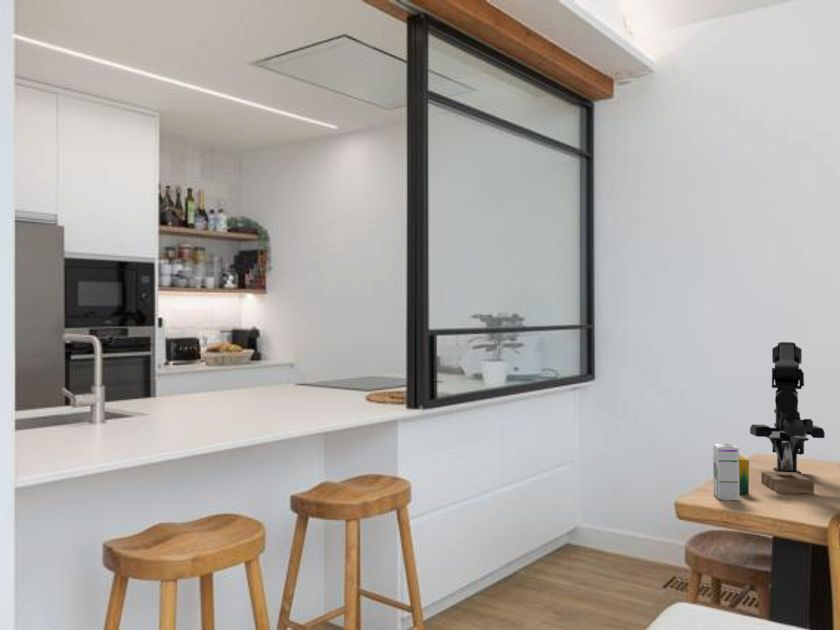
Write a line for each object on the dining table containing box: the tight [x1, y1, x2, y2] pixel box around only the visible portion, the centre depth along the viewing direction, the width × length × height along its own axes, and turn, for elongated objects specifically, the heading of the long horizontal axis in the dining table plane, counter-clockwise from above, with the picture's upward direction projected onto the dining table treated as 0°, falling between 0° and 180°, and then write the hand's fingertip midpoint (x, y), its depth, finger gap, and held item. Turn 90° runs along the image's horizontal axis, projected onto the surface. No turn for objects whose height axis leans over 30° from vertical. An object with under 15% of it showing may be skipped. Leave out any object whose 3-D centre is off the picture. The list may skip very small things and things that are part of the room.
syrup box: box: [712, 443, 740, 502], centre depth 192 cm, size 6×6×14 cm
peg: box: [781, 441, 793, 471], centre depth 203 cm, size 3×3×8 cm
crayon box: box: [739, 455, 750, 495], centre depth 199 cm, size 7×3×12 cm, turn 173°
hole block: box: [760, 470, 815, 495], centre depth 203 cm, size 12×10×4 cm
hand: (786, 460), depth 203 cm, fingers closed on peg, 3 cm apart
